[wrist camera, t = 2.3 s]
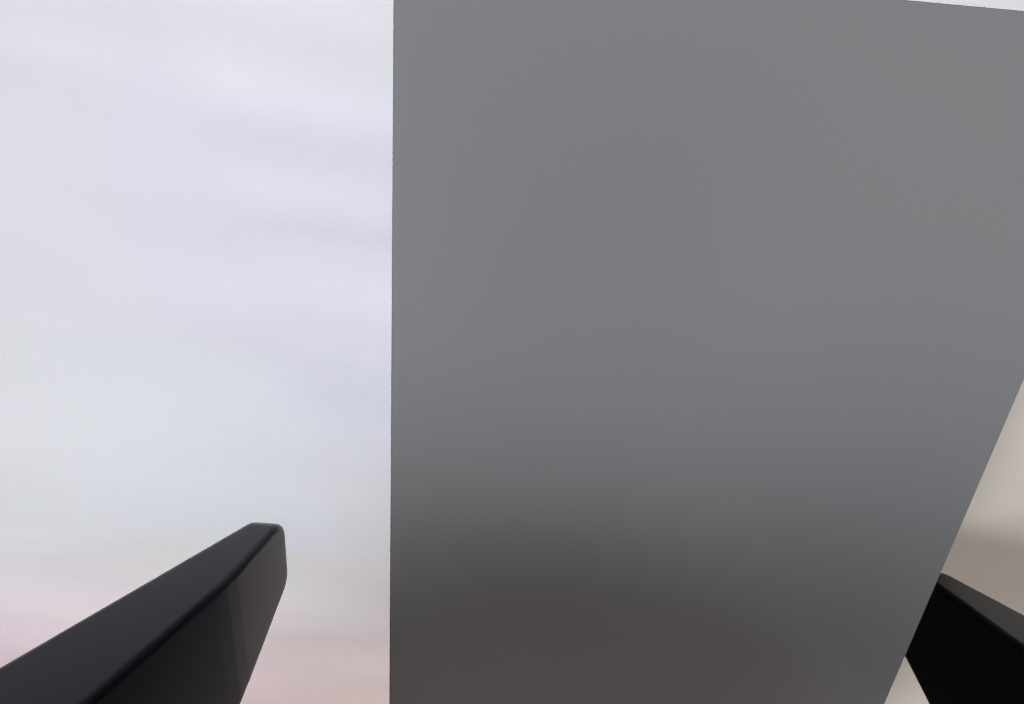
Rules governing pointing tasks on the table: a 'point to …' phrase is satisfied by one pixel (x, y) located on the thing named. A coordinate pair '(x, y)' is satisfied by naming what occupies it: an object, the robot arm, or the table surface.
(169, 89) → the table surface
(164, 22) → the table surface
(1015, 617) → the robot arm
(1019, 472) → the plate
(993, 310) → the block
